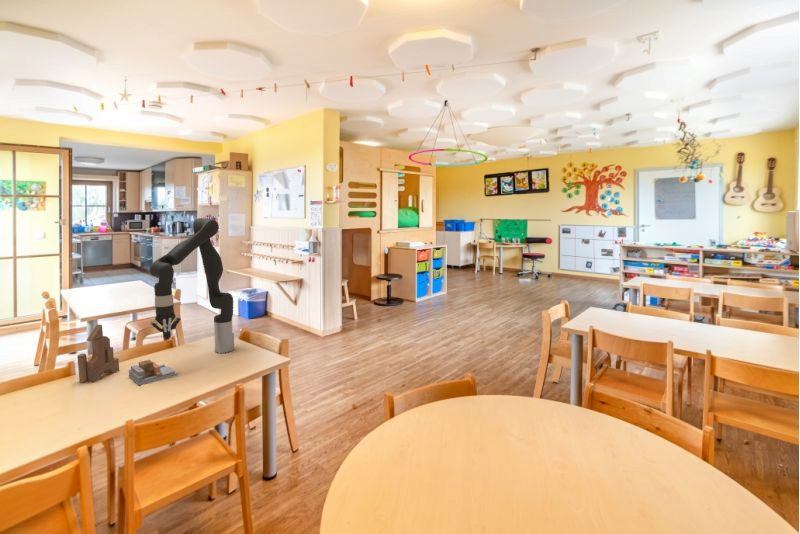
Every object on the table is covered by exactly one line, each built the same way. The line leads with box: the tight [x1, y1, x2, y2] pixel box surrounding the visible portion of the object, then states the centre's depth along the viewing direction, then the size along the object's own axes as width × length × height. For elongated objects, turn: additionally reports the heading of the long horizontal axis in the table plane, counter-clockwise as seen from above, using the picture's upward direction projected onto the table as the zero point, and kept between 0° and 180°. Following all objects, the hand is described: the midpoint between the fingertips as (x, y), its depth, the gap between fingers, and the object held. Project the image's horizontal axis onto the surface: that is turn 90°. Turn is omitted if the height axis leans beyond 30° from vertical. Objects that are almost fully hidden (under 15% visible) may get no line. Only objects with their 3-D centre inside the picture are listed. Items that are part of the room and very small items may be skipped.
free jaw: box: [151, 360, 162, 376], centre depth 187 cm, size 2×13×4 cm, turn 50°
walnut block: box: [138, 359, 154, 378], centre depth 184 cm, size 4×5×6 cm
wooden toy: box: [77, 324, 120, 384], centre depth 183 cm, size 15×7×25 cm, turn 172°
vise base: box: [128, 364, 178, 386], centre depth 186 cm, size 16×14×6 cm
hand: (167, 338), depth 190 cm, fingers closed
